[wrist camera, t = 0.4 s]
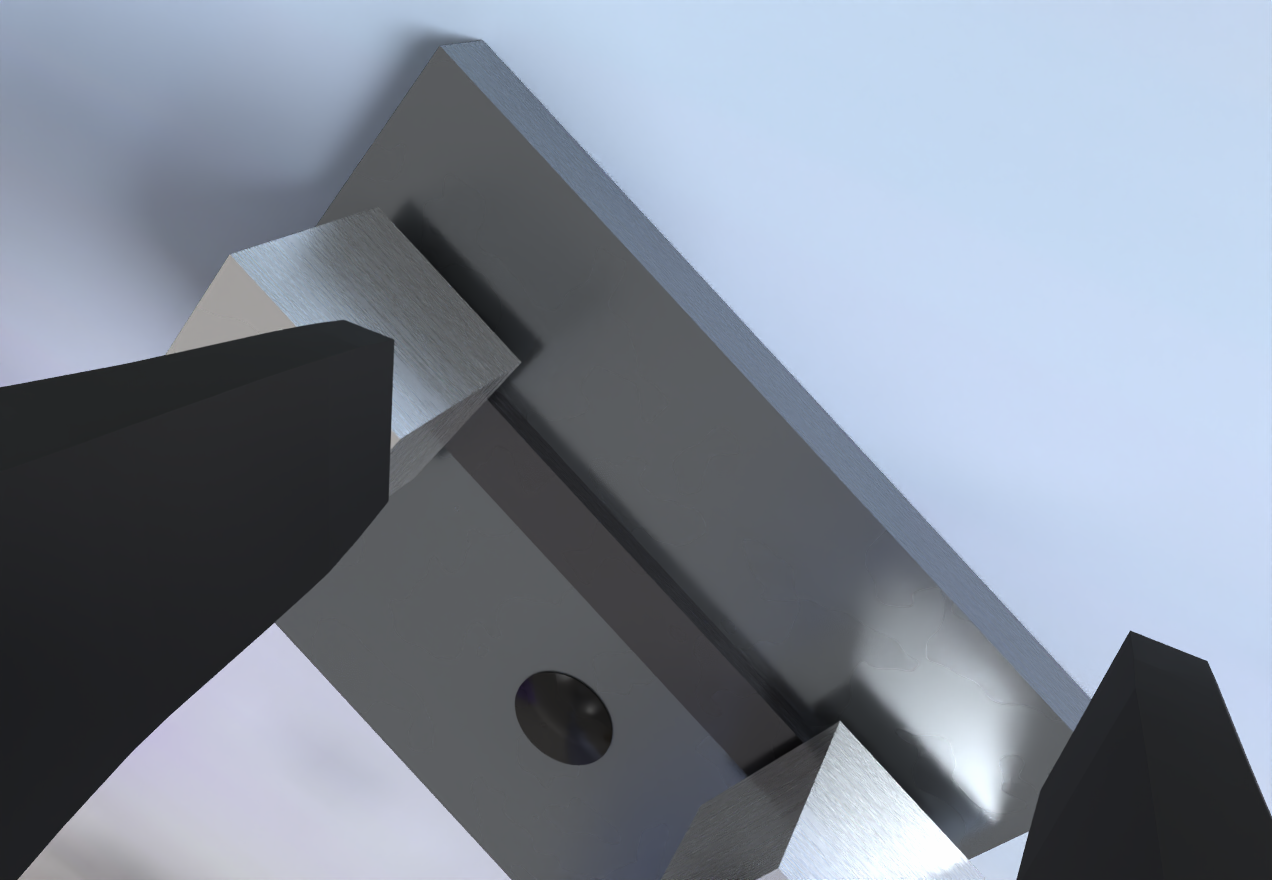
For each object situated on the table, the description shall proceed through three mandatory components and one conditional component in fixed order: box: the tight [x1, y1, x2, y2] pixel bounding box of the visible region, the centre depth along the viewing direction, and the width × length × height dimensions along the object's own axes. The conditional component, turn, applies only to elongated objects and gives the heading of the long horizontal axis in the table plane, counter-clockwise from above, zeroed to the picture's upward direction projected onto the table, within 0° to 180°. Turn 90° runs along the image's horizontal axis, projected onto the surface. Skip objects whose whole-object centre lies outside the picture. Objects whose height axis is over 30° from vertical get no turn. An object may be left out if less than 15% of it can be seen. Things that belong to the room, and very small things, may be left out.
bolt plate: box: [166, 41, 1091, 880], centre depth 22 cm, size 14×18×6 cm
